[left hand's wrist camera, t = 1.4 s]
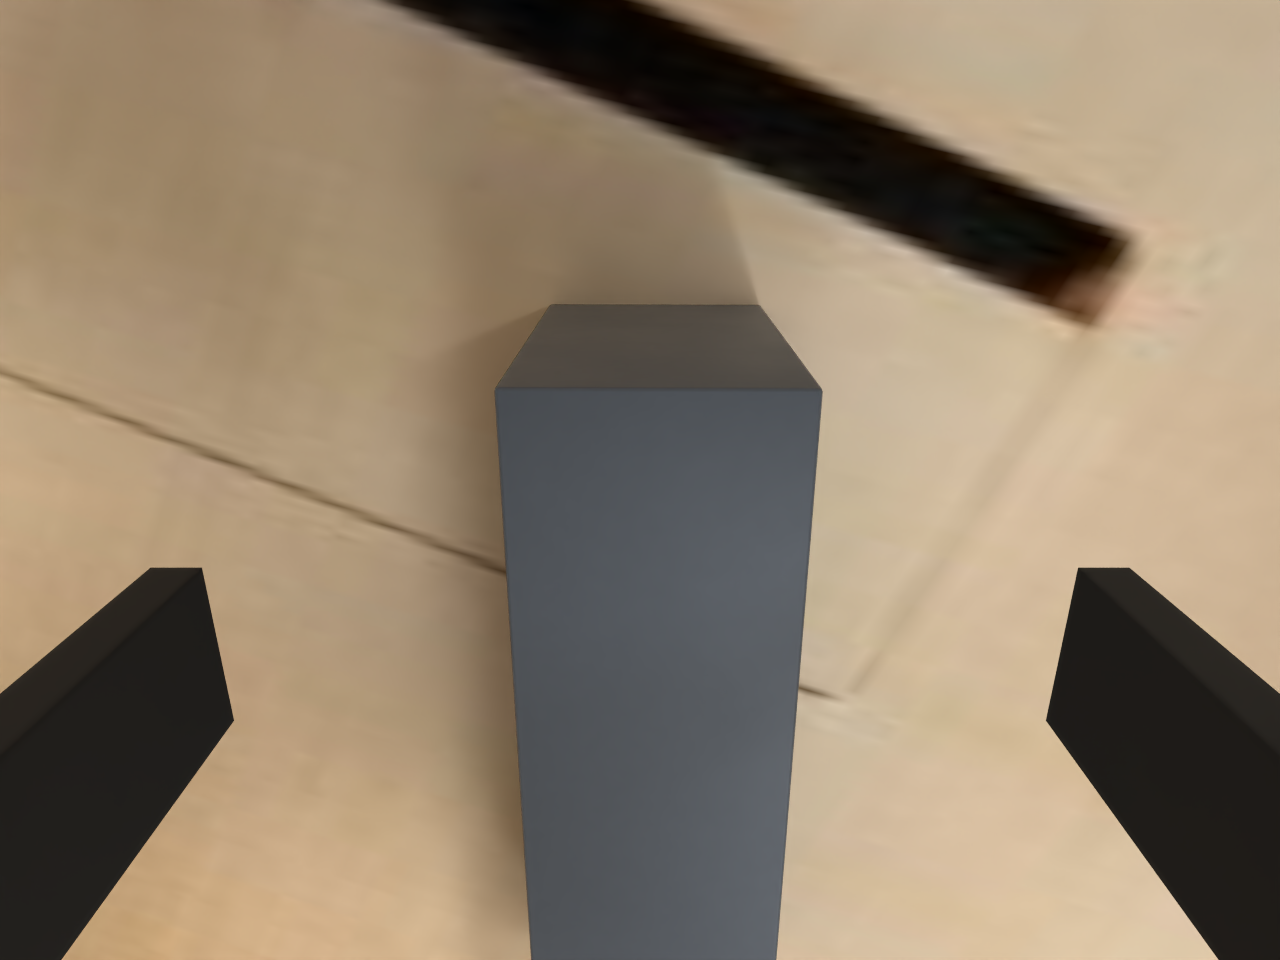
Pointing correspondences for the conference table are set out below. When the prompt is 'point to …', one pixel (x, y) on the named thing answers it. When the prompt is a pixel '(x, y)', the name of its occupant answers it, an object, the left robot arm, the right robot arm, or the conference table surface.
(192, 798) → the conference table surface
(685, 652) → the bar
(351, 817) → the conference table surface
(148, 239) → the conference table surface
